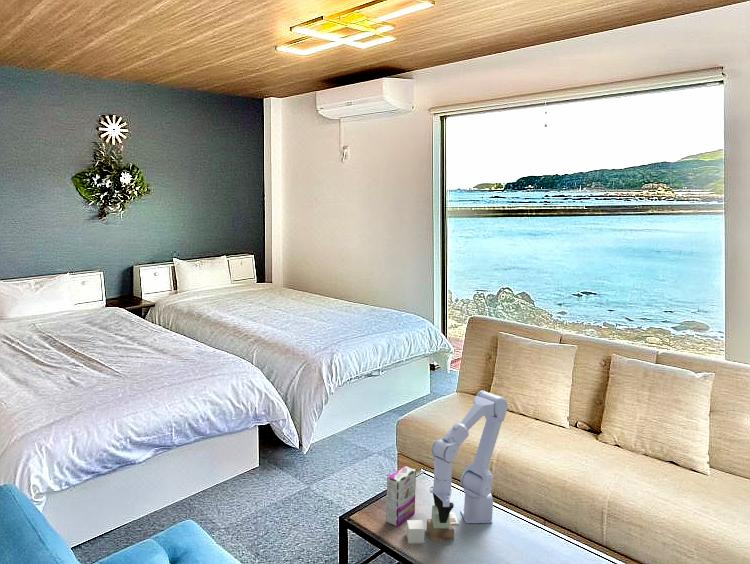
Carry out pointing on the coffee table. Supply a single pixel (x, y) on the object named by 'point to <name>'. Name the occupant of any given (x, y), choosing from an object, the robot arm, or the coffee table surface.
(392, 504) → the candy bar box
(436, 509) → the sage cube
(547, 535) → the coffee table surface
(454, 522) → the card
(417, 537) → the pale grey cube
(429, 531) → the walnut block
